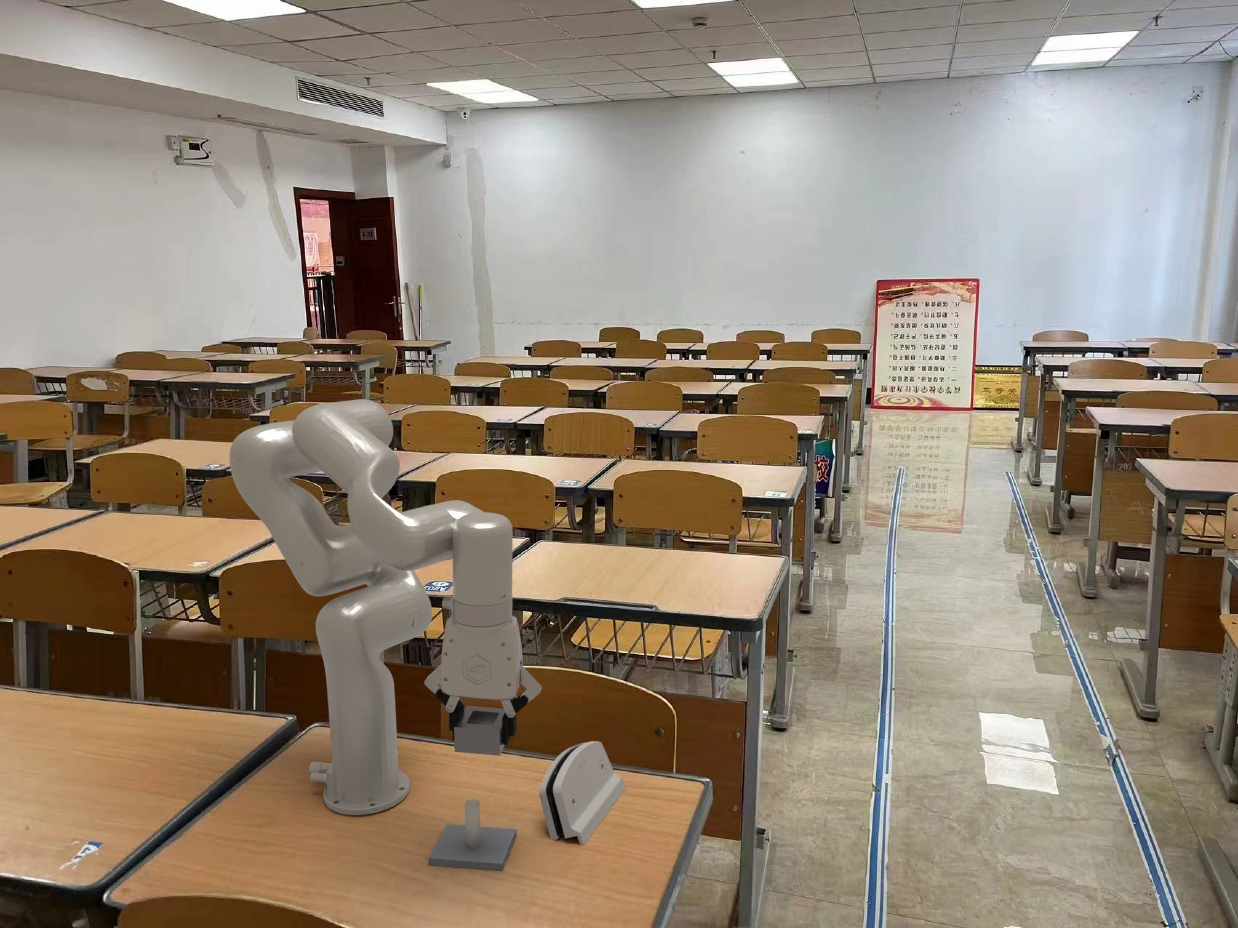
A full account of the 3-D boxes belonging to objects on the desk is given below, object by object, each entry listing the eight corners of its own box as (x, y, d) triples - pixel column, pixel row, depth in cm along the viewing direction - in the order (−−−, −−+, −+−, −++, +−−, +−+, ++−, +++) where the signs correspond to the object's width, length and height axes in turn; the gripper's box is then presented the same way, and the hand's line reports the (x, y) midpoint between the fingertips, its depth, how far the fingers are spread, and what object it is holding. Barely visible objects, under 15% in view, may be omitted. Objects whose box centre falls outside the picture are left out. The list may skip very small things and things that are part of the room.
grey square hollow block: (454, 751, 121) (454, 726, 120) (467, 729, 127) (467, 705, 126) (499, 755, 120) (499, 730, 120) (510, 733, 126) (510, 709, 125)
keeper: (428, 864, 124) (426, 816, 122) (447, 830, 132) (445, 785, 130) (502, 870, 123) (501, 822, 121) (516, 835, 130) (515, 789, 129)
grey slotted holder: (582, 846, 128) (559, 778, 127) (553, 850, 130) (530, 783, 129) (627, 786, 143) (606, 726, 142) (600, 790, 145) (579, 730, 144)
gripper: (407, 615, 117) (410, 746, 121) (543, 625, 115) (541, 758, 119) (426, 594, 124) (428, 719, 128) (554, 603, 122) (552, 729, 126)
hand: (482, 736), depth 123 cm, fingers closed on grey square hollow block, 6 cm apart
